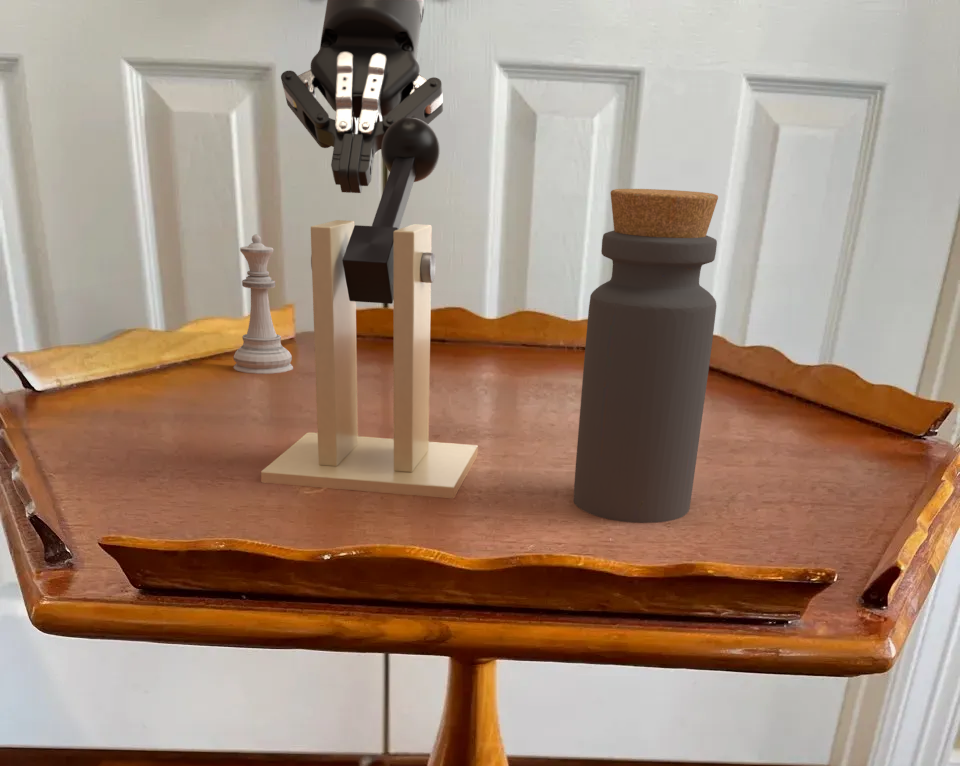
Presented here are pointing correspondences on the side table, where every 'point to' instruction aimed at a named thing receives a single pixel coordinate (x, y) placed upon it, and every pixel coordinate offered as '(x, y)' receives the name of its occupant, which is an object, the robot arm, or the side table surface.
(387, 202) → the lever
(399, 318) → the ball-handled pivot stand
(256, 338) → the chess piece
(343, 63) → the robot arm
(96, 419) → the side table surface
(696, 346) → the bottle
